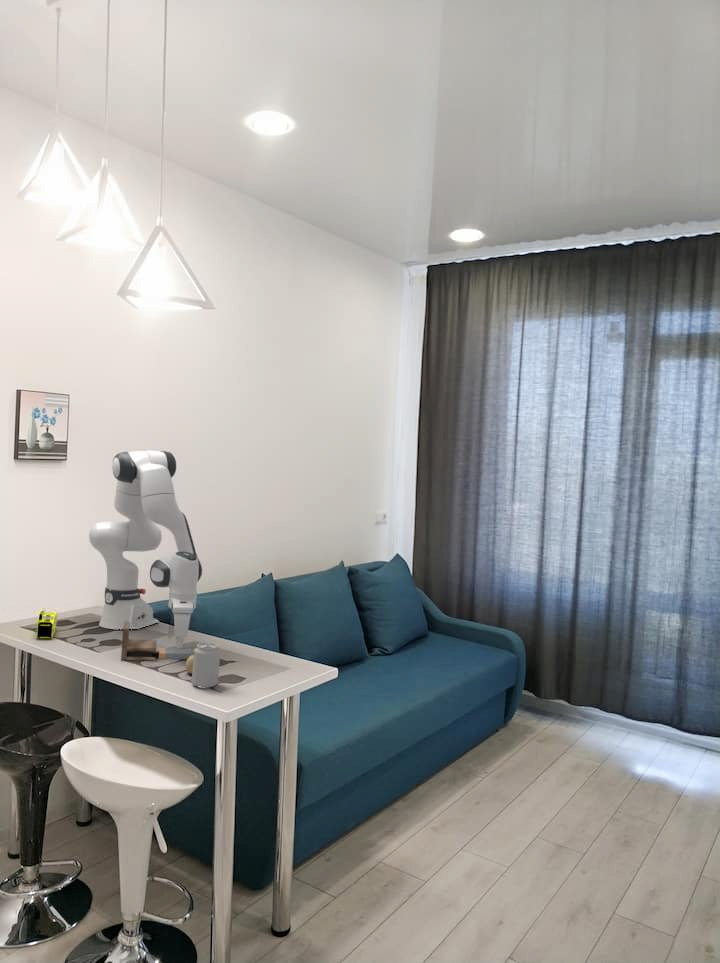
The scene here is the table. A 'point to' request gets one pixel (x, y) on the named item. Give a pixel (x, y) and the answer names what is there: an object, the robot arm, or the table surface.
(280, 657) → the table surface
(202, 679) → the can
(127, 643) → the tan bookend
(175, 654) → the two-tone tall prism
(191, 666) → the onion
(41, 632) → the yellow toy chassis
